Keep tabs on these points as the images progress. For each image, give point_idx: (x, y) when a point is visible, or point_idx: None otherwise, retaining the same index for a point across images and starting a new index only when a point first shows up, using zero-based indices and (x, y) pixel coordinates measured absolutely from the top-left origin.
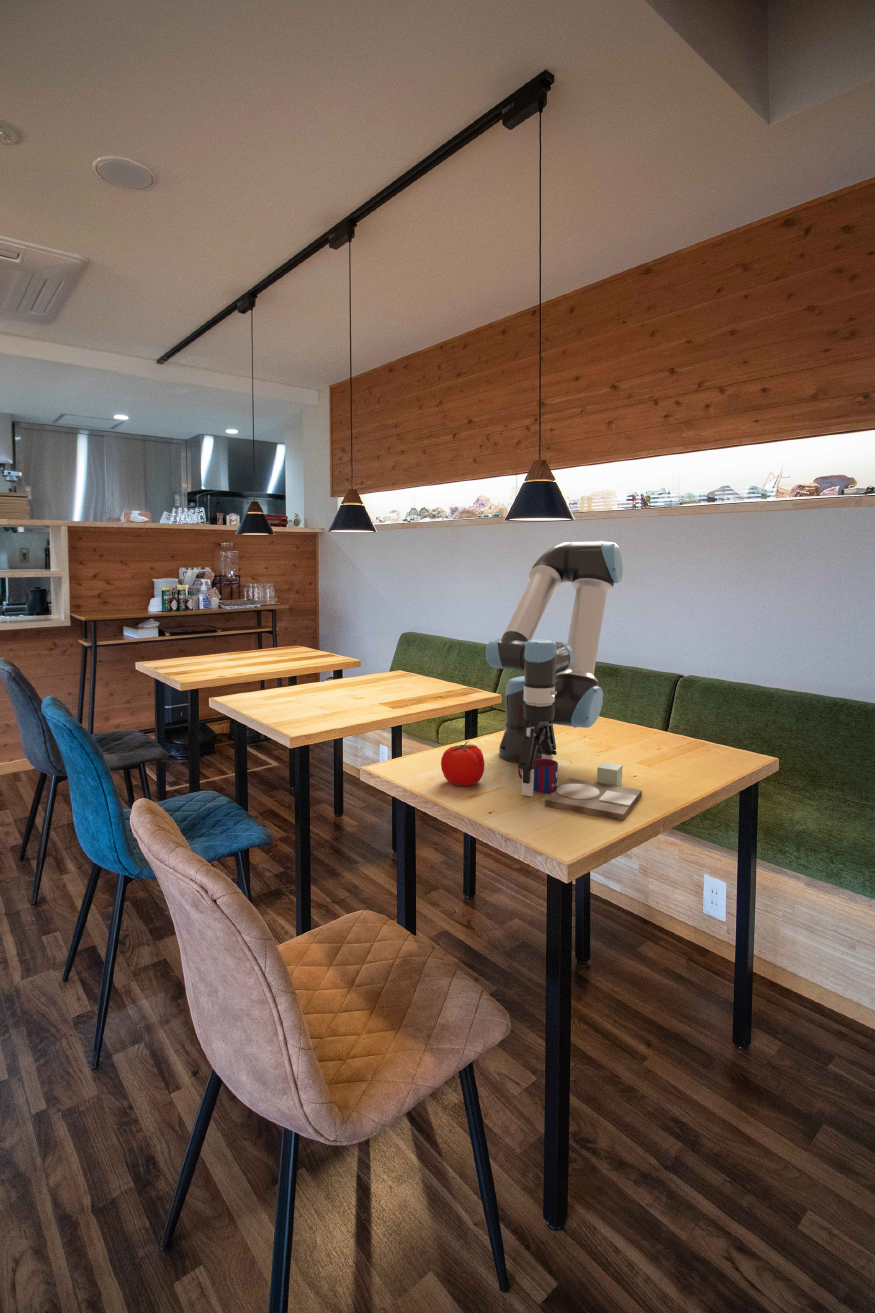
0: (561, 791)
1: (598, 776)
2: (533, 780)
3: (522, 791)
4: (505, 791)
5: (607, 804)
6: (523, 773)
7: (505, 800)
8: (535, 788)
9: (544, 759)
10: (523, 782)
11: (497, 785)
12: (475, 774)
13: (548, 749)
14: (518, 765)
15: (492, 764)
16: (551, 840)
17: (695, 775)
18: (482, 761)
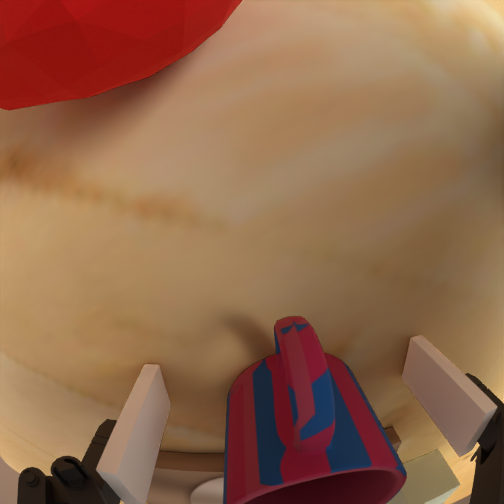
0: (220, 488)
1: (399, 491)
2: (154, 460)
3: (141, 377)
4: (142, 268)
5: None
6: (84, 461)
7: (56, 320)
8: (227, 407)
9: (397, 479)
10: (106, 423)
11: (206, 174)
12: (10, 109)
13: (480, 476)
14: (19, 480)
15: (467, 46)
16: (17, 453)
17: (468, 483)
18: (54, 44)
